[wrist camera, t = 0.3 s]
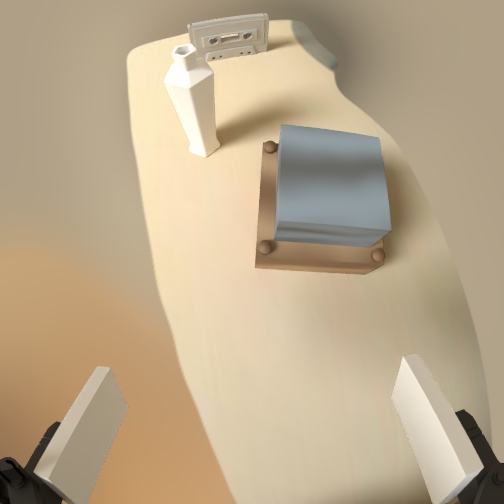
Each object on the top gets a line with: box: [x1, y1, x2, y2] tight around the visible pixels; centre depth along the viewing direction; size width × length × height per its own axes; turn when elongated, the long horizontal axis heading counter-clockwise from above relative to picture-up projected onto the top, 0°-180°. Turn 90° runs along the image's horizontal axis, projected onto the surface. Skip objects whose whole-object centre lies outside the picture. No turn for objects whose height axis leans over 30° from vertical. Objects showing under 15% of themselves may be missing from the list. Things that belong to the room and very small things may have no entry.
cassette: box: [188, 13, 269, 62], centre depth 36 cm, size 12×2×8 cm, turn 104°
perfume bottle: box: [164, 44, 221, 157], centre depth 28 cm, size 5×4×15 cm
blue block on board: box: [255, 125, 391, 274], centre depth 28 cm, size 12×12×10 cm
